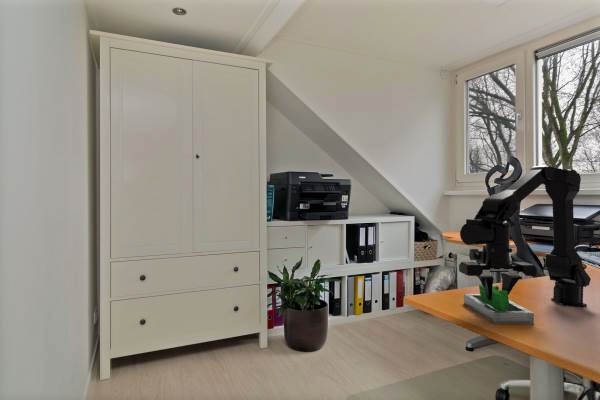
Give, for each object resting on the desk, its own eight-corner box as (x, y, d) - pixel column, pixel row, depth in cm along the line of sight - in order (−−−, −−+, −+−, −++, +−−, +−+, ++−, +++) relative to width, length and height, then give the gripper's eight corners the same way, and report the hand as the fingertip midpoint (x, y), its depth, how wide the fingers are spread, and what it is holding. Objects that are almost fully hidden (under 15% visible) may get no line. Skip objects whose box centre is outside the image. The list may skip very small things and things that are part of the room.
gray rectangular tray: (497, 303, 110) (497, 293, 109) (533, 324, 93) (534, 313, 92) (463, 303, 110) (464, 293, 109) (493, 323, 93) (494, 312, 92)
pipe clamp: (516, 311, 96) (513, 293, 96) (502, 313, 96) (499, 296, 96) (493, 298, 107) (491, 282, 107) (480, 300, 107) (478, 284, 107)
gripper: (514, 239, 109) (513, 291, 109) (451, 239, 109) (450, 291, 109) (538, 245, 97) (537, 303, 98) (468, 244, 97) (467, 303, 98)
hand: (496, 299), depth 101 cm, fingers closed on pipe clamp, 4 cm apart
